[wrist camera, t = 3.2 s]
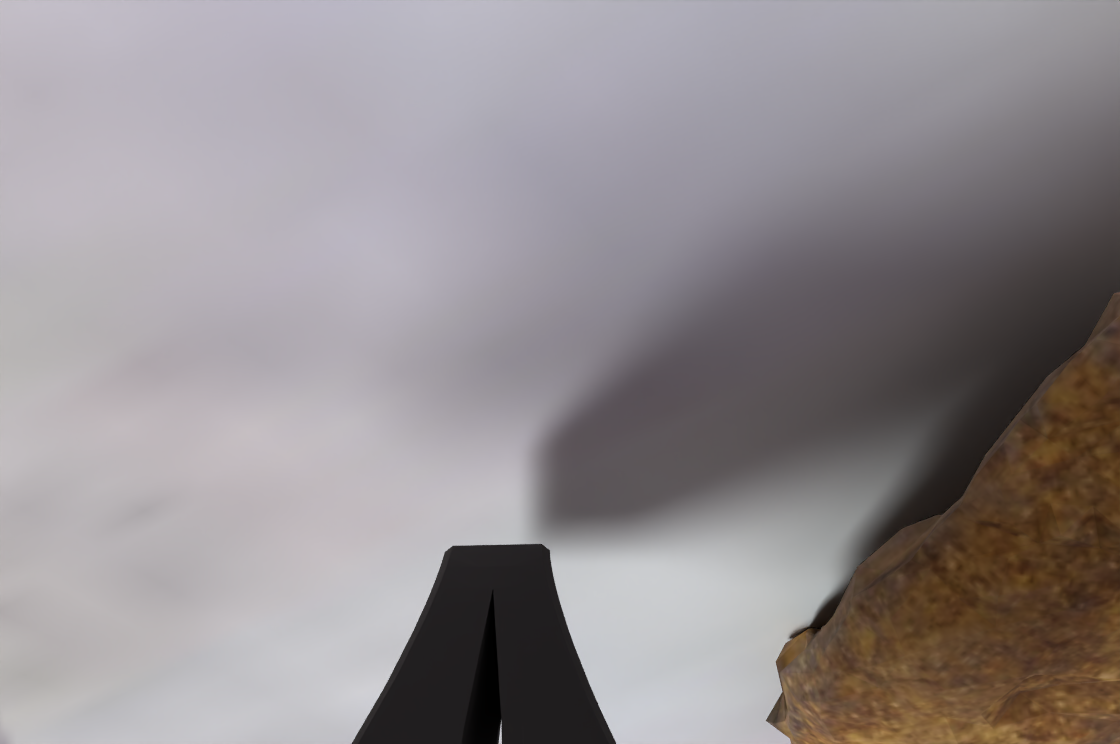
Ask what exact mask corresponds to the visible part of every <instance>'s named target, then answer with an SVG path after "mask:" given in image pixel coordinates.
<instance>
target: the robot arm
mask: <svg viewBox="0 0 1120 744" xmlns="http://www.w3.org/2000/svg"><path fill="white" fill-rule="evenodd" d="M501 722H502V744H616V742H615V740H614V738H613V736H612V733H611V731H610V729H609V727H608V725H607V723H606V721H605V719H604V716H603V714H602V712H601V710H600V708H599V705H598V703H597V701H596V699H595V696H594V694H593V692H592V689H591V687H590V685H589V682H588V680H587V677H586V675H585V672H584V669H583V667H582V664H581V662H580V659H579V657H578V654H577V652H576V649H575V647H574V644H573V641H572V638H571V636H570V633H569V630H568V627H567V624H566V621H565V617H564V614H563V611H562V608H561V605H560V601H559V598H558V594H557V590H556V586H555V582H554V577H553V572H552V567H551V560H550V550H549V549H547V548H546V547H545V546H544V545H542V544H520V545H474V546H452V547H451V548H450V549H448V550H447V551H446V552H445V554H444V557H443V560H442V564H441V567H440V570H439V572H438V575H437V578H436V580H435V583H434V585H433V588H432V590H431V593H430V595H429V598H428V600H427V602H426V605H425V607H424V609H423V611H422V613H421V616H420V618H419V620H418V622H417V624H416V627H415V629H414V631H413V633H412V635H411V637H410V639H409V641H408V643H407V645H406V647H405V649H404V651H403V653H402V655H401V657H400V659H399V660H398V662H397V664H396V666H395V668H394V670H393V672H392V674H391V676H390V678H389V680H388V682H387V684H386V685H385V687H384V689H383V691H382V693H381V694H380V696H379V698H378V699H377V701H376V703H375V705H374V706H373V708H372V710H371V711H370V713H369V715H368V717H367V718H366V720H365V722H364V723H363V725H362V727H361V729H360V730H359V732H358V734H357V735H356V737H355V739H354V741H353V742H352V744H498V743H499V734H500V725H501Z"/></svg>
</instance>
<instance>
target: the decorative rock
mask: <svg viewBox="0 0 1120 744" xmlns="http://www.w3.org/2000/svg"><path fill="white" fill-rule="evenodd" d="M776 665H777V669H778V673H779V678H780V682H781V687H782V691H783V692H782V694H781V696H780V697H779V699H778V701H777V702H776V704H775V706H774V708H773V709H772V711H771V713H770V714H769V716H768V718H767V720H766V721H767V722H768V723H770V724H771V725H773V726H774V727H775V728H777V729H778V730H779V731H781V732H782V733H783V734H785V735H786V736H787V737H789V738H790V740H791V744H1120V292H1118V293H1114V294H1113V295H1112V297H1111V299H1110V301H1109V303H1108V304H1107V306H1106V308H1105V310H1104V312H1103V313H1102V315H1101V317H1100V319H1099V321H1098V322H1097V324H1096V326H1095V328H1094V330H1093V331H1092V333H1091V335H1090V337H1089V339H1088V340H1087V342H1086V344H1085V345H1084V346H1083V347H1082V348H1081V349H1080V350H1078V351H1077V352H1076V353H1075V354H1074V355H1072V356H1071V357H1070V358H1069V359H1068V360H1066V361H1065V362H1064V363H1063V364H1061V365H1060V366H1059V367H1058V368H1057V369H1055V370H1054V371H1053V372H1052V373H1051V374H1049V375H1048V376H1047V377H1046V378H1045V380H1044V381H1043V382H1042V384H1041V385H1040V386H1039V387H1038V389H1037V390H1036V391H1035V392H1034V394H1033V395H1032V396H1031V398H1030V399H1029V400H1028V401H1027V403H1026V404H1025V405H1024V406H1023V408H1022V409H1021V410H1020V411H1019V413H1018V414H1017V415H1016V417H1015V418H1014V419H1013V420H1012V422H1011V423H1010V424H1009V425H1008V427H1007V428H1006V429H1005V430H1004V432H1003V433H1002V434H1001V436H1000V437H999V438H998V439H997V441H996V442H995V443H994V444H993V446H992V447H991V448H990V449H989V451H988V452H987V453H986V455H985V456H984V458H983V460H982V462H981V463H980V465H979V467H978V469H977V471H976V472H975V474H974V476H973V478H972V480H971V482H970V483H969V485H968V487H967V489H966V491H965V492H964V494H963V496H962V497H961V498H960V499H959V500H958V501H957V502H956V503H955V504H953V505H952V506H951V507H950V508H949V509H948V510H947V511H946V512H945V513H944V514H943V515H935V516H933V517H930V518H927V519H925V520H922V521H920V522H917V523H915V524H912V525H909V526H907V527H904V528H902V529H901V530H900V531H898V532H897V533H896V534H895V535H894V536H893V537H891V538H890V539H889V540H888V541H887V542H886V543H885V544H883V545H882V546H881V547H880V548H879V549H878V550H876V551H875V552H874V553H873V554H872V555H871V556H869V557H868V558H867V559H866V560H865V561H864V562H863V563H861V564H860V565H859V566H858V567H857V569H856V571H855V573H854V575H853V577H852V579H851V581H850V583H849V585H848V587H847V589H846V591H845V593H844V595H843V597H842V599H841V601H840V603H839V605H838V607H837V609H836V611H835V613H834V615H833V617H832V618H831V619H830V620H829V621H828V623H827V624H826V625H825V626H822V628H821V630H820V629H816V628H810V629H808V630H806V631H804V632H803V633H801V634H800V635H798V636H796V637H795V638H793V639H792V640H790V641H789V642H787V643H786V644H785V645H784V647H783V649H782V651H781V653H780V655H779V657H778V659H777V661H776Z"/></svg>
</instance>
